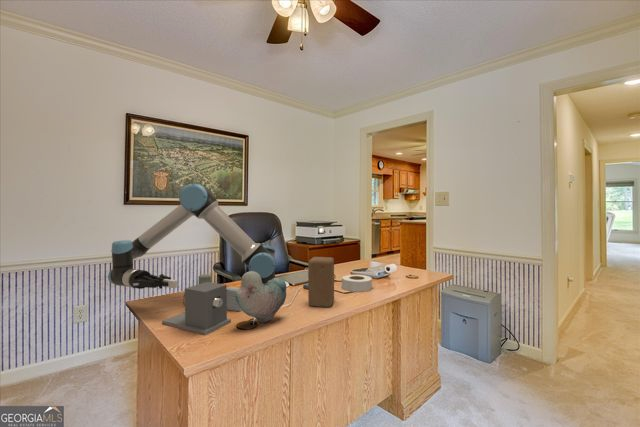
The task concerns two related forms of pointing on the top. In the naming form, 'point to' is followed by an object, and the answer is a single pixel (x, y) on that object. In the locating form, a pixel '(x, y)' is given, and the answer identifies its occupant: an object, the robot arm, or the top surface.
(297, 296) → the top surface
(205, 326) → the bearing block
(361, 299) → the top surface
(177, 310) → the top surface
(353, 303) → the top surface
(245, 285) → the grey rounded bird shape
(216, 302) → the orange rounded long piece
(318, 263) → the wooden block
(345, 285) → the roll of tape
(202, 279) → the air freshener
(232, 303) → the medicine box
